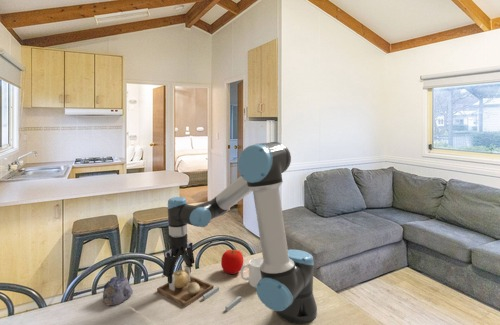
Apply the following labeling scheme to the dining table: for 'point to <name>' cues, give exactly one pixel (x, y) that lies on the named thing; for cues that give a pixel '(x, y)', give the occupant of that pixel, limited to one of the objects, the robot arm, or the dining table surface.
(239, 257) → the tomato
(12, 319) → the dining table surface
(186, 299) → the tray
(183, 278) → the onion
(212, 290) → the cradle
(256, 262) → the cup
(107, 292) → the rock
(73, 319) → the dining table surface
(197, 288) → the ball
